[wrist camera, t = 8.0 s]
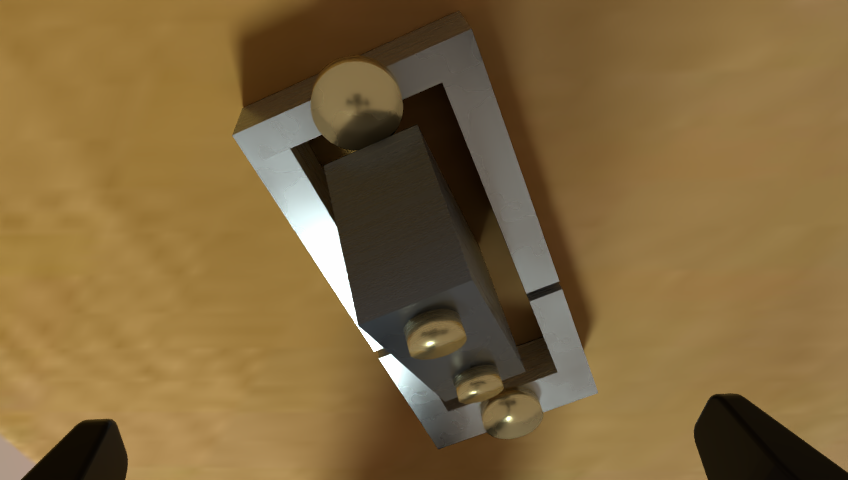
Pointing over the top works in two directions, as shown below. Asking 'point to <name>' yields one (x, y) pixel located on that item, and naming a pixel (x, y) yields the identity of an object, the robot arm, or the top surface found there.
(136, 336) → the top surface
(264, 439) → the top surface
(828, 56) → the top surface
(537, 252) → the end link
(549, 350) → the end link
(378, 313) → the block with brass studs
